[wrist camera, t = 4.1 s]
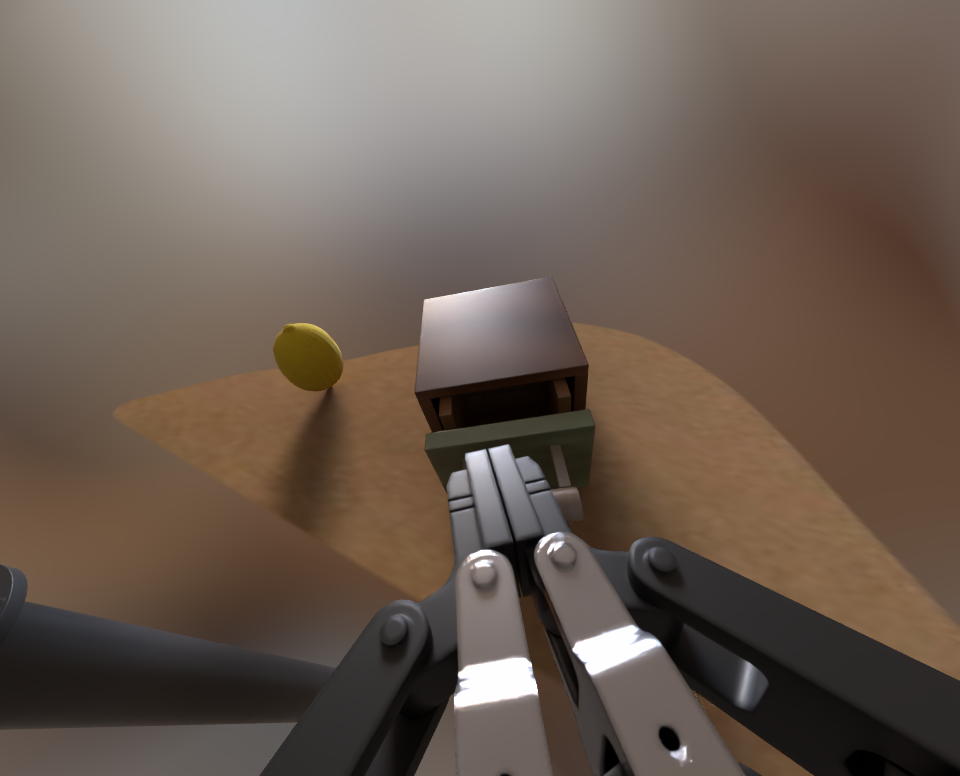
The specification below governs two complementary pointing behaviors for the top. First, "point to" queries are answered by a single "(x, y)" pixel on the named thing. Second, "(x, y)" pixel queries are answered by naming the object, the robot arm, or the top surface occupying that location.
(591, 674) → the robot arm
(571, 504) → the drawer
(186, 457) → the top surface
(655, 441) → the top surface
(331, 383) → the lemon
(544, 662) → the top surface
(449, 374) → the cabinet
